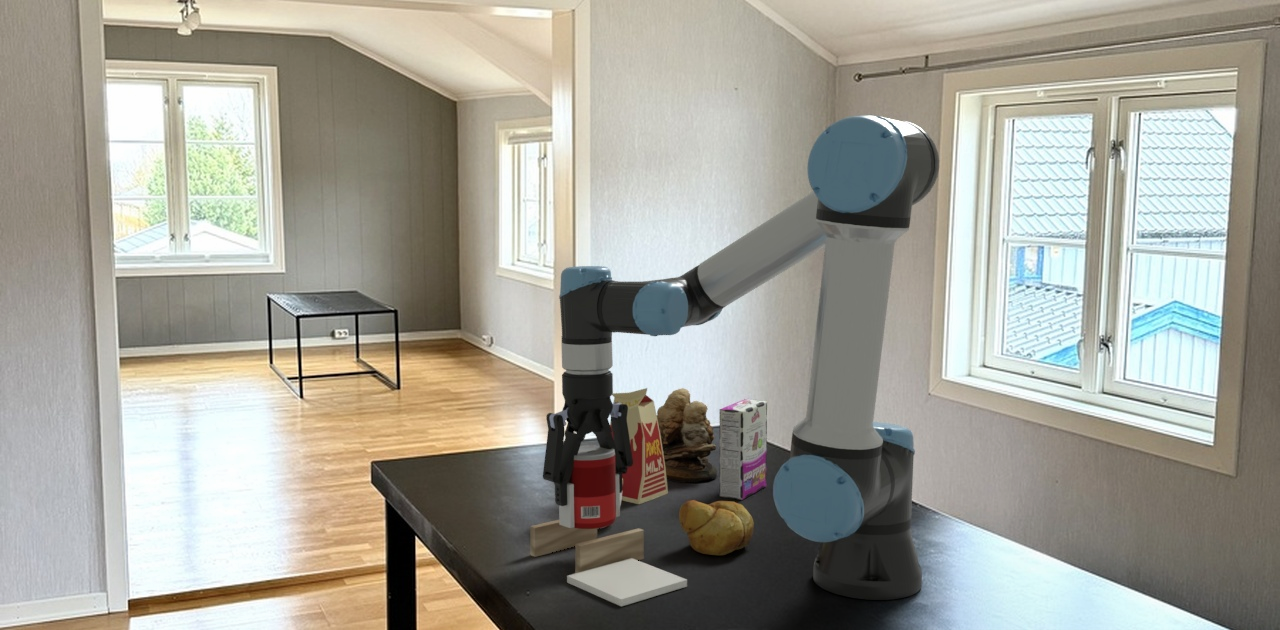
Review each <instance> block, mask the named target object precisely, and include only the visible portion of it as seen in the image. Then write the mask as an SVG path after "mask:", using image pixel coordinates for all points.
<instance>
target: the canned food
mask: <svg viewBox="0 0 1280 630" xmlns="http://www.w3.org/2000/svg"><path fill="white" fill-rule="evenodd" d="M569 483H572V484H574V528H578V529H596V528H600V529H603V528H602V527H604V528H607V527H609V526H611V525H613V524H614V523H615V521H616V518H617V517H616V471H615V450H614V449H613V448H611V449H605V448H602V447H600V445H599V444H598V445H597V444H596V445H595V444H593V445H591V444H590V445H580V448H579V451H578V454H577V455H575V456H574V467H573V470H572V473H571V477H570V480H569ZM606 526H607V527H606Z"/></svg>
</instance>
